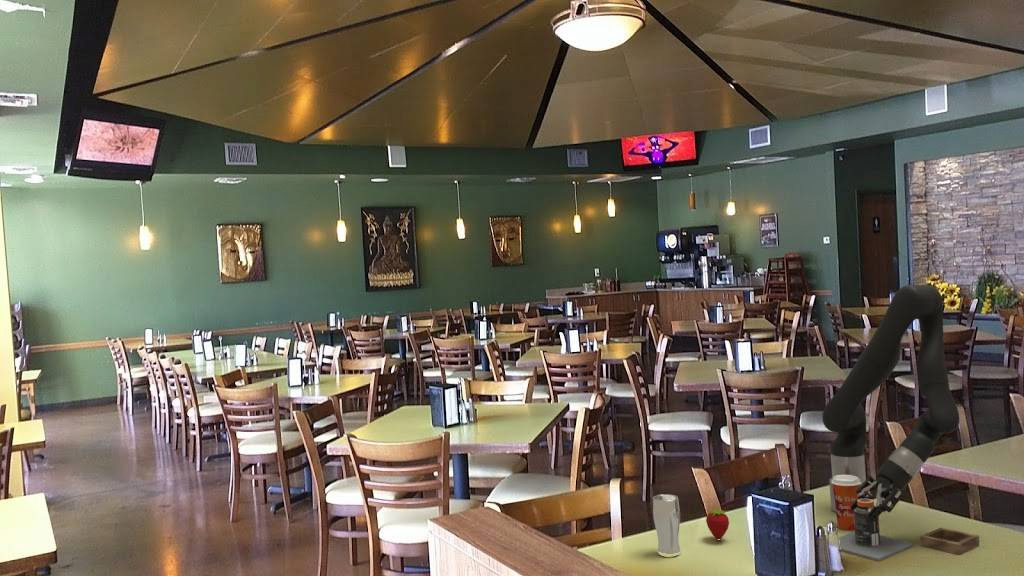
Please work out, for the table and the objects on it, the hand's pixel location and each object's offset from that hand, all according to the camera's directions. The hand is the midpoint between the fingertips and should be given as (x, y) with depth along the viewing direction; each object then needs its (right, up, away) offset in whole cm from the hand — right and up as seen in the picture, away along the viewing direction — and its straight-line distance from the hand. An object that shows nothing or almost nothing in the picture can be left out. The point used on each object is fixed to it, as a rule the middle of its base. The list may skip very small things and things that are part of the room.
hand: (860, 515), depth 212 cm
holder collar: (+21, -7, -4) cm, 23 cm away
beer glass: (-49, -12, +4) cm, 51 cm away
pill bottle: (+2, -8, 0) cm, 8 cm away
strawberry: (-34, -11, +12) cm, 38 cm away
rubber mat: (+2, -8, 0) cm, 8 cm away
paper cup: (+3, -8, +16) cm, 18 cm away
